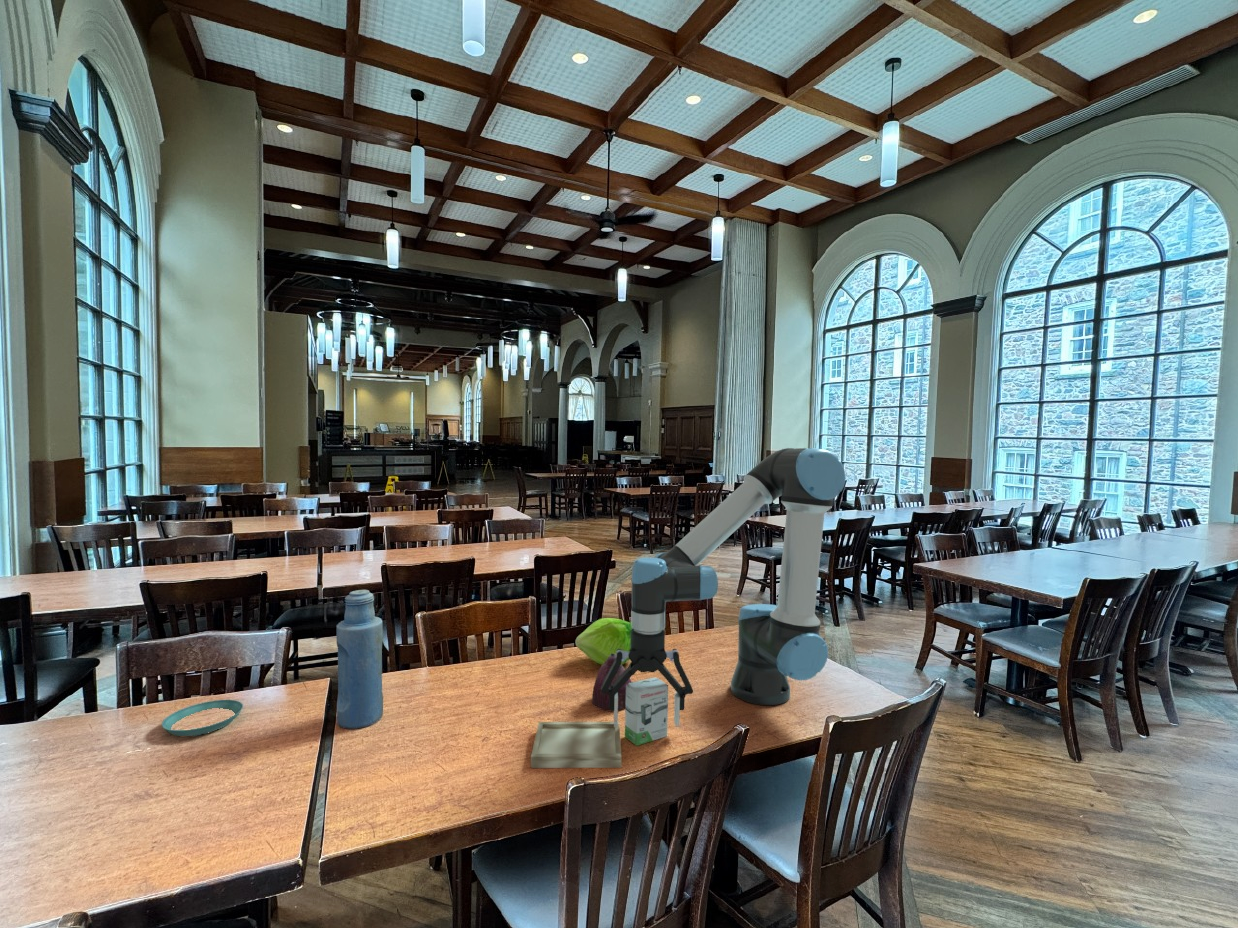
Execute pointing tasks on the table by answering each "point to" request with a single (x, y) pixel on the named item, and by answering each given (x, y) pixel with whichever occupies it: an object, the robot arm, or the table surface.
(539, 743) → the tray
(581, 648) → the lettuce
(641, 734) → the ink box
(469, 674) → the table surface
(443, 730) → the table surface
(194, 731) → the teal round ring piece
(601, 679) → the vegetable
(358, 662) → the bottle
